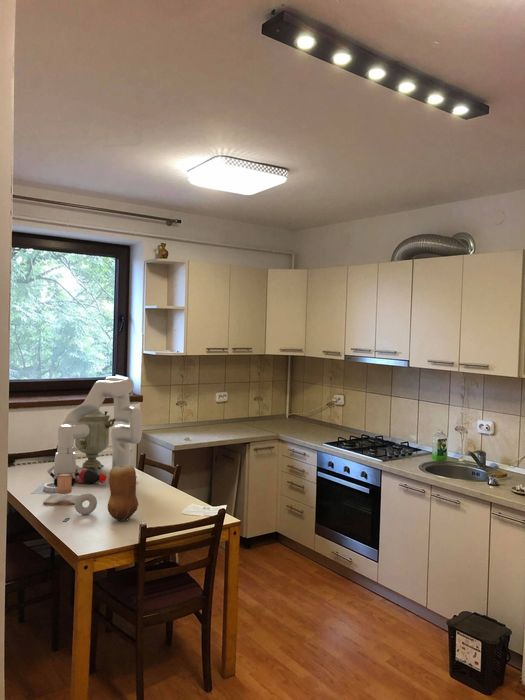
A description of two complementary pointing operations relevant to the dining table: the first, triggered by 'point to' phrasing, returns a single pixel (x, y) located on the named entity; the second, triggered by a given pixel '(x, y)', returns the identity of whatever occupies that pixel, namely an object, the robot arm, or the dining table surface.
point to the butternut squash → (122, 492)
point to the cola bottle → (89, 476)
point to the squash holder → (48, 489)
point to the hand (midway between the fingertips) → (64, 485)
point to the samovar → (94, 437)
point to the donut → (84, 497)
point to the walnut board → (61, 500)
